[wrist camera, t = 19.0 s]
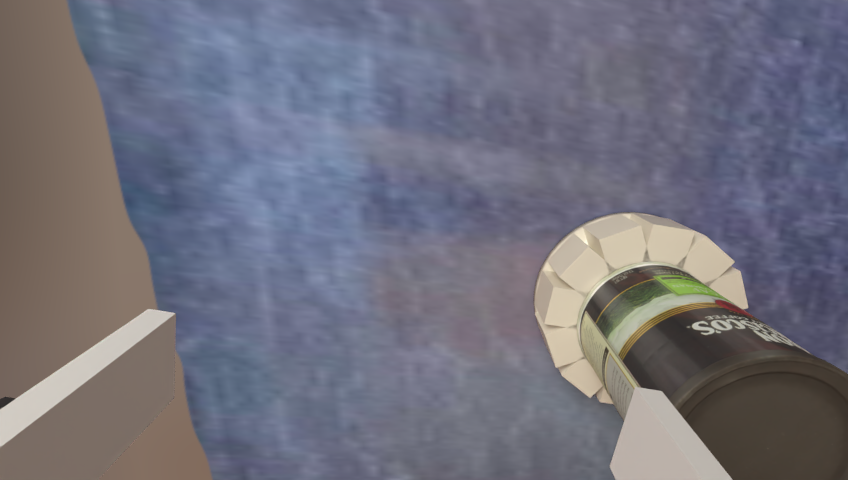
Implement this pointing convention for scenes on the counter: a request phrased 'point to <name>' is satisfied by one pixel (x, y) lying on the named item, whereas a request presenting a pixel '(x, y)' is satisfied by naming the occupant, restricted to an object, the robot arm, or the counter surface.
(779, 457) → the coffee can
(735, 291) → the cream cog ring
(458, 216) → the counter surface
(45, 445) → the robot arm
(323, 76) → the counter surface
